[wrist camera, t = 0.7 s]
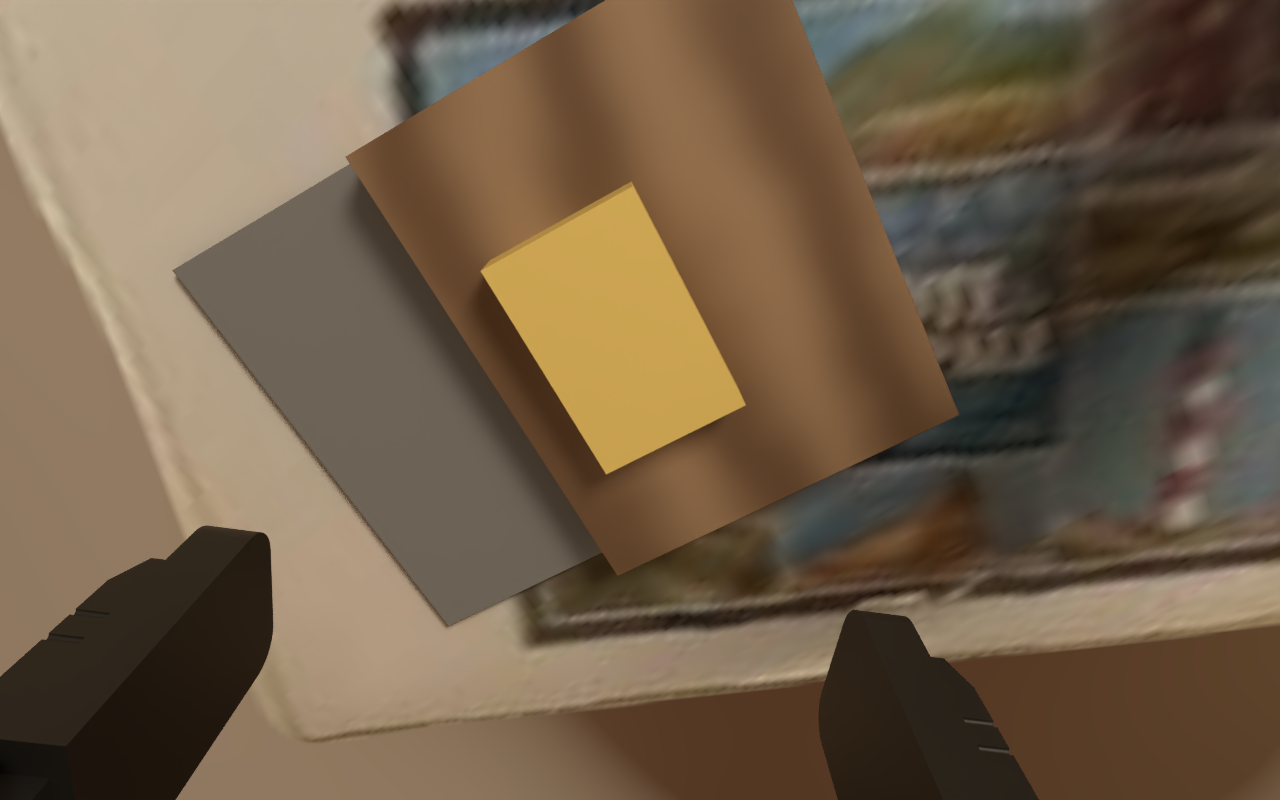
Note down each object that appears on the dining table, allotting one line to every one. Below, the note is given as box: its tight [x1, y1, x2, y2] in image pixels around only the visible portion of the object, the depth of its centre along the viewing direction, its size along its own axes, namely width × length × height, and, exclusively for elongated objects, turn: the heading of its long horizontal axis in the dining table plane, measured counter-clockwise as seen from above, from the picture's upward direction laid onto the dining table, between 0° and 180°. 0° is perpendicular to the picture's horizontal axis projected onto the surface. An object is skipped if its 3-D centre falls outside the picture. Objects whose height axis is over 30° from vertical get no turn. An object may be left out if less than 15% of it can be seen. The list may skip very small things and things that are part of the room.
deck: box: [346, 0, 959, 576], centre depth 30 cm, size 16×20×3 cm
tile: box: [481, 181, 746, 474], centre depth 28 cm, size 6×9×2 cm, turn 28°
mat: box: [172, 164, 602, 626], centre depth 33 cm, size 9×20×1 cm, turn 28°
